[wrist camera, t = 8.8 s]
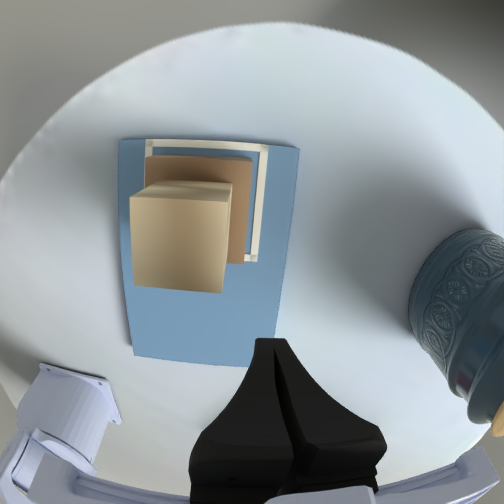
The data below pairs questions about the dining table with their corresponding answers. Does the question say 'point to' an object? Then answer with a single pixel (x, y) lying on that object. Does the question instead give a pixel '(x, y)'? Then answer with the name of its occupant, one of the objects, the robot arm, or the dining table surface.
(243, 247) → the walnut base
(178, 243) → the maple block
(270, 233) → the board
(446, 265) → the canister
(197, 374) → the dining table surface
